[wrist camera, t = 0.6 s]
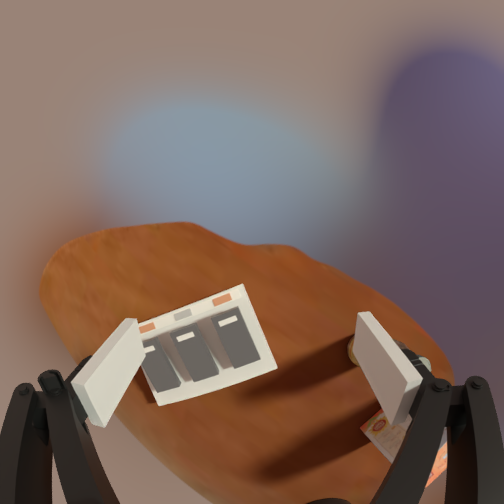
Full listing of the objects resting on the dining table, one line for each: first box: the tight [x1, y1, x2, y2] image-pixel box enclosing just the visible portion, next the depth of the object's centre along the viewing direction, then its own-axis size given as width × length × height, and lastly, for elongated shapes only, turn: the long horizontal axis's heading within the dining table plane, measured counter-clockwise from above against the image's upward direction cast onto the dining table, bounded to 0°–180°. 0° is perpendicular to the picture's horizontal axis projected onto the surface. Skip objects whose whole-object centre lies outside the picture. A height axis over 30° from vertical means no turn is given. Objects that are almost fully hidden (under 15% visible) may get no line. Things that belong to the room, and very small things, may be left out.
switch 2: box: [211, 306, 261, 369], centre depth 41 cm, size 9×4×2 cm, turn 23°
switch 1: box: [141, 336, 181, 393], centre depth 40 cm, size 9×4×2 cm, turn 23°
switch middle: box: [169, 322, 219, 382], centre depth 40 cm, size 9×4×2 cm, turn 23°
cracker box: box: [360, 408, 447, 488], centre depth 31 cm, size 14×6×21 cm, turn 129°
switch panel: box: [138, 284, 277, 406], centre depth 43 cm, size 15×22×4 cm
